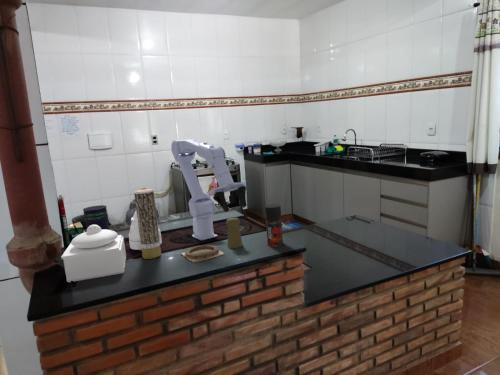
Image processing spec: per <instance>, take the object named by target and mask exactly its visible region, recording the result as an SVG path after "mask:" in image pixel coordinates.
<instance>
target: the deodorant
mask: <svg viewBox="0 0 500 375" xmlns="http://www.w3.org/2000/svg"><path fill="white" fill-rule="evenodd" d="M264 210H265V211H264V213H265V215H264V216H265V227H266V229H265V230H266V240H267V243H266V244H267V247H271V248H272V247H273V248H274V247H275V248H276V247H281V246H283V245H284V239H283V238H284V237H283V223H282V207H281V204H278V203H275V204H274V203H272V204H267V205H264Z"/></svg>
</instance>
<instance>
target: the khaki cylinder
mask: <svg viewBox="0 0 500 375" xmlns="http://www.w3.org/2000/svg"><path fill="white" fill-rule="evenodd" d="M225 224H226V227H227V245H226V246H228V247H229V249H238V247H239V248H242V247H243V245H244V244H243V239H242V235H241V231H240V225H241V221H240V218H238V217H229V218H228V219H226V222H225ZM241 246H242V247H241ZM228 247H227V248H228Z"/></svg>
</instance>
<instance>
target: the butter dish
mask: <svg viewBox="0 0 500 375" xmlns="http://www.w3.org/2000/svg"><path fill="white" fill-rule="evenodd" d="M86 230H87V231H86ZM86 230H85V232H82V233H80V234H78V235H77V236H74V238H73V239H72V240H71V242H69V245H68V247H67V248H66V249H65V250H64V252H63V254H62V255H61V256H60V258H61V260H63V266H64V273H65V276H66V282H68V283H72V282H71V281H73V282H77V281H84V280H90V279H96V278H101V277H106V276H108V277H109V276H112V275H120V274H124V273H125V269H124V268H126V262H127V261H126V260H127V253H126V246H125V239H124V236H123V234H118V233H117V232H116V231H114V230H111V229H110V230H105V229H103V230H101V228H100V227H99V226H98V225H90V226H89V227H88V228H87V229H86ZM125 261H126V262H125Z"/></svg>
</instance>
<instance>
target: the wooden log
mask: <svg viewBox="0 0 500 375" xmlns="http://www.w3.org/2000/svg"><path fill="white" fill-rule="evenodd" d="M154 192H155V191H154V188H145V189H138V190H135V191H134V192H133V193H134V201H135V209H136V210H135V211H137V218H138V226H139V234H140V242H141V249H142V250H141V256H142V258H143V259H145V260H151V259H152V258H153V259H157V258H159V257H160V256H161V255H162V251H161V244H160V240H159V231H158V227H159V224H158V216H157V208H156V198H155V193H154ZM158 256H159V257H158ZM156 257H157V258H156ZM153 259H152V260H153Z"/></svg>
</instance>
